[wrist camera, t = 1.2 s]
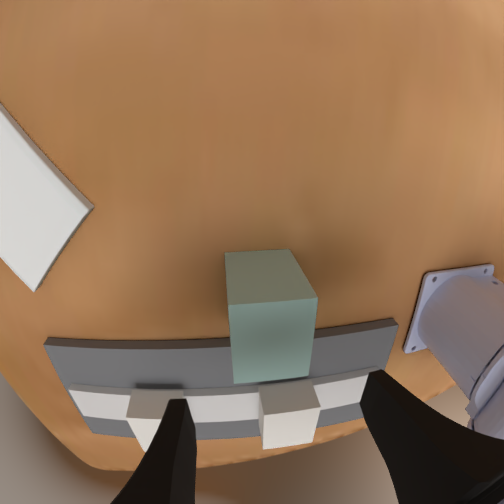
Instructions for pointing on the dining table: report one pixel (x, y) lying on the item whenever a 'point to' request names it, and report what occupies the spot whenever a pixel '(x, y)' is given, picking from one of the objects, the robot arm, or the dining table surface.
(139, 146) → the dining table surface
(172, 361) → the rail board
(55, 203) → the external hard drive
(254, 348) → the block
